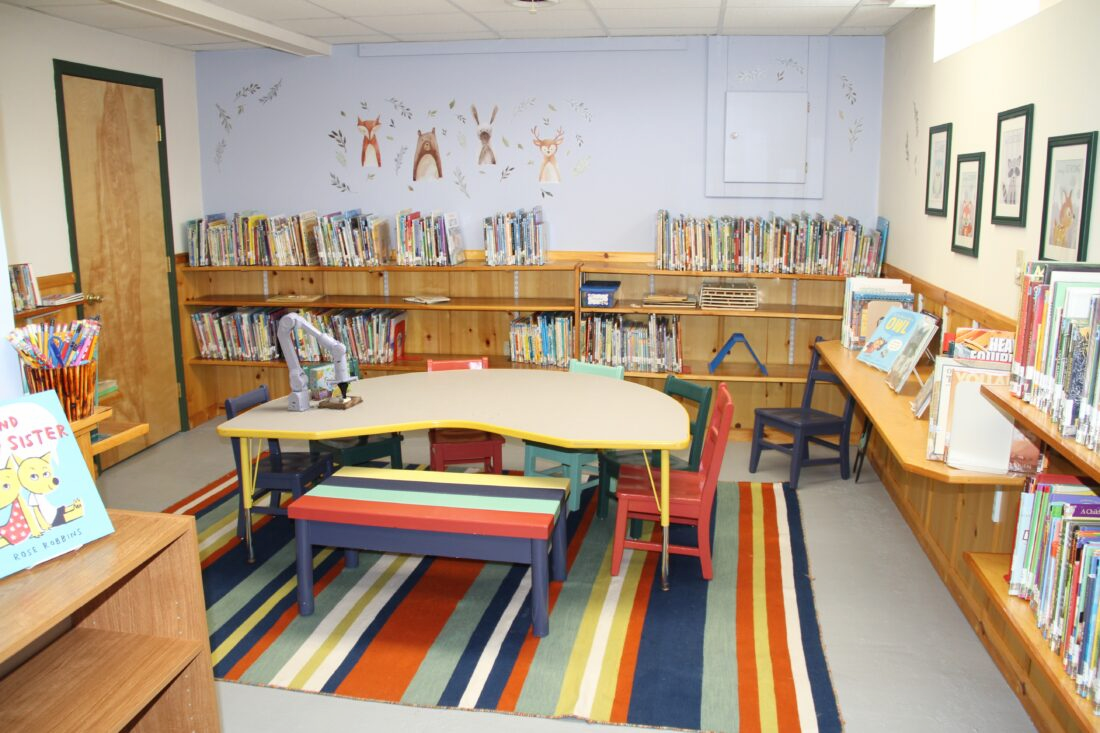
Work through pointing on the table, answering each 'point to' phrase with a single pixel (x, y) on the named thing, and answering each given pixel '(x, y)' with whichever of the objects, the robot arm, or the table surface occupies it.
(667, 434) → the table surface
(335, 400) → the dial
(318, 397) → the snack box
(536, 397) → the table surface
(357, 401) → the dial board
